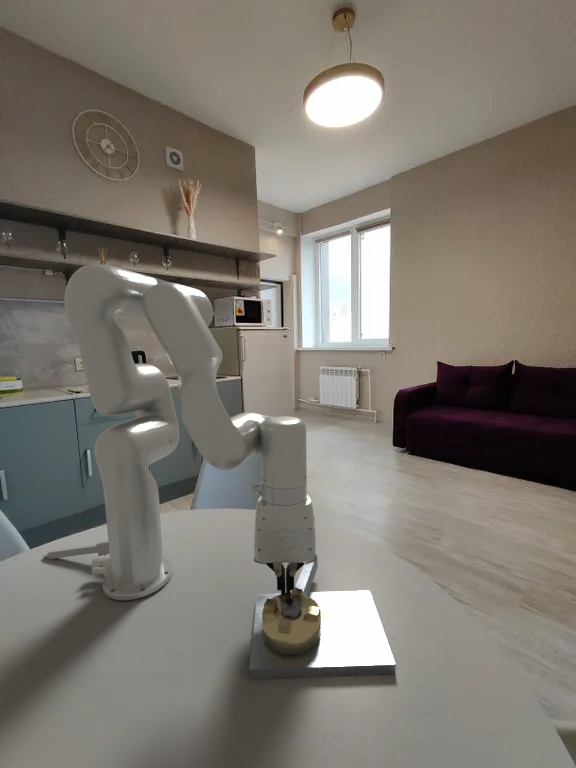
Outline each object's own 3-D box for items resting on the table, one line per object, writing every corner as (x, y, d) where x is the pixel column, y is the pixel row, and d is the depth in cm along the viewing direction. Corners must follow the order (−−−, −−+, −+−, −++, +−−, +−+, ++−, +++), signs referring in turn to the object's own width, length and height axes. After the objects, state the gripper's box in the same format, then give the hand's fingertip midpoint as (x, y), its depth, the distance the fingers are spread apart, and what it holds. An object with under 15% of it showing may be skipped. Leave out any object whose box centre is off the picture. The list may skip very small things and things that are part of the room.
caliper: (130, 563, 77) (130, 533, 77) (127, 565, 76) (127, 535, 76) (46, 556, 80) (46, 528, 81) (42, 558, 79) (42, 530, 80)
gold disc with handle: (253, 646, 53) (252, 622, 52) (291, 564, 72) (291, 546, 72) (314, 660, 50) (314, 634, 50) (336, 571, 70) (336, 552, 69)
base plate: (249, 679, 49) (248, 668, 49) (257, 602, 64) (257, 593, 64) (395, 674, 49) (395, 663, 49) (369, 598, 64) (369, 589, 64)
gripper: (236, 501, 57) (239, 609, 59) (331, 500, 57) (331, 608, 59) (242, 483, 64) (245, 579, 66) (326, 482, 64) (326, 578, 66)
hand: (285, 592), depth 62 cm, fingers closed
